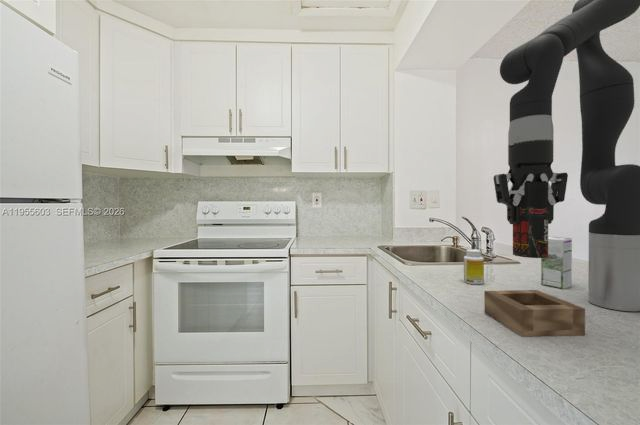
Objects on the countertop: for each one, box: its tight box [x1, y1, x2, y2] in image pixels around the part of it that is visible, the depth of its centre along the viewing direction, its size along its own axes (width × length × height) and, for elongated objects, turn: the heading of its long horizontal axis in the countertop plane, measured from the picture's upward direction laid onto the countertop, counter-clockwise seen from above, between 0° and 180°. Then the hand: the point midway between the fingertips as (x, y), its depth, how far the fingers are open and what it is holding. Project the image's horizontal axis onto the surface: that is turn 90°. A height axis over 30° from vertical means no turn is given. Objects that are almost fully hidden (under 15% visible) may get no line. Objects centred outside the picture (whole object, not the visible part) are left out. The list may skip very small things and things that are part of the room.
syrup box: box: [540, 235, 573, 290], centre depth 86 cm, size 6×6×14 cm
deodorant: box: [512, 182, 549, 259], centre depth 60 cm, size 6×6×15 cm
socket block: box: [483, 289, 586, 337], centre depth 60 cm, size 12×12×5 cm
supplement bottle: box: [463, 249, 485, 285], centre depth 91 cm, size 6×6×10 cm
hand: (529, 223), depth 60 cm, fingers closed on deodorant, 6 cm apart
